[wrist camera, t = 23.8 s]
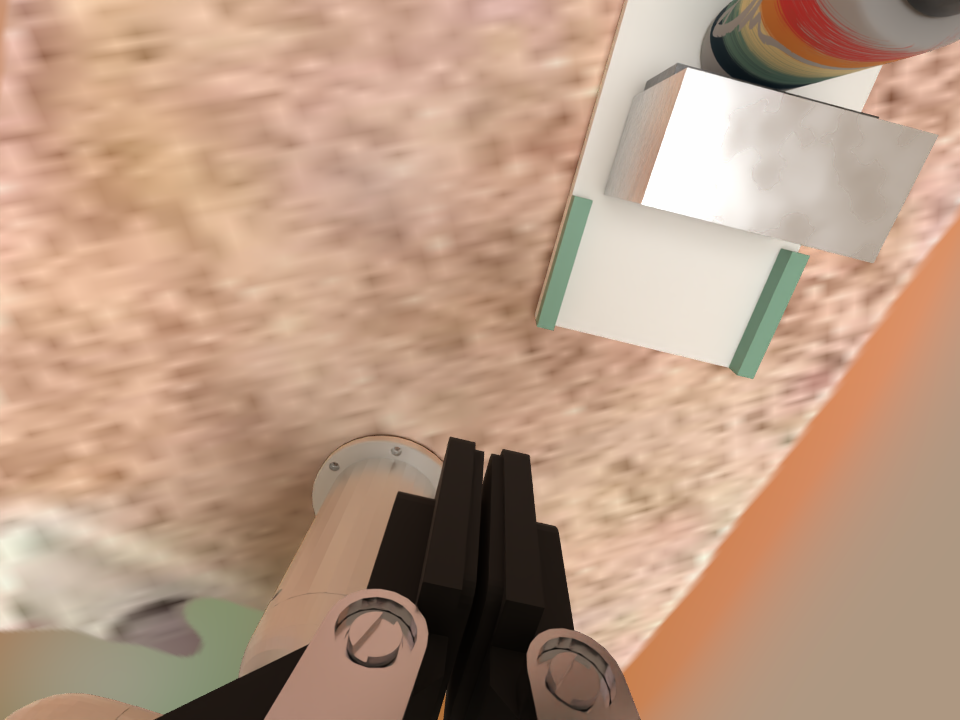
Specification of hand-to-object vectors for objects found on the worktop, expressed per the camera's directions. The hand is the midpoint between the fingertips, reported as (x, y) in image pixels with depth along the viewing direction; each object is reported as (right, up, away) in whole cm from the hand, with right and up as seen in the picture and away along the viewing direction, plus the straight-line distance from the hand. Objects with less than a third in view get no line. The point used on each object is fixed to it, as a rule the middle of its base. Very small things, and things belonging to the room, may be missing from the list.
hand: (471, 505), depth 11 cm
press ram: (+15, +16, +23) cm, 32 cm away
